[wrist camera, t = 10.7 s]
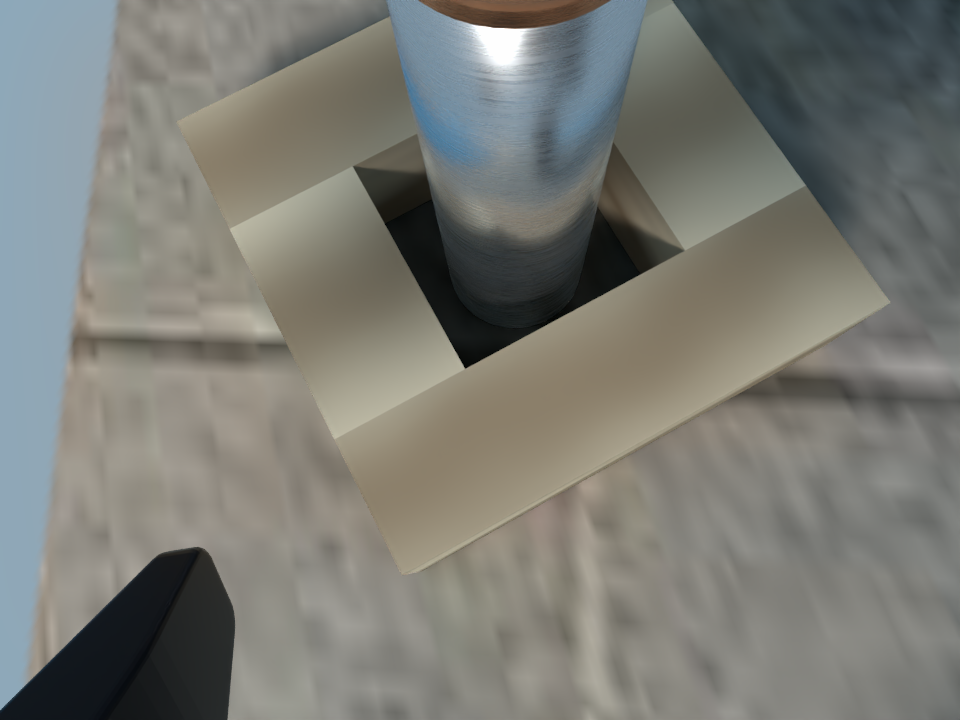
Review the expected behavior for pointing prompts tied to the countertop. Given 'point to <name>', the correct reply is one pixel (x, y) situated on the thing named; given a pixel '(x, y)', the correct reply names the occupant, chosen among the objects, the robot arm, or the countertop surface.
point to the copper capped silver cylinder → (516, 137)
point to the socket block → (555, 347)
